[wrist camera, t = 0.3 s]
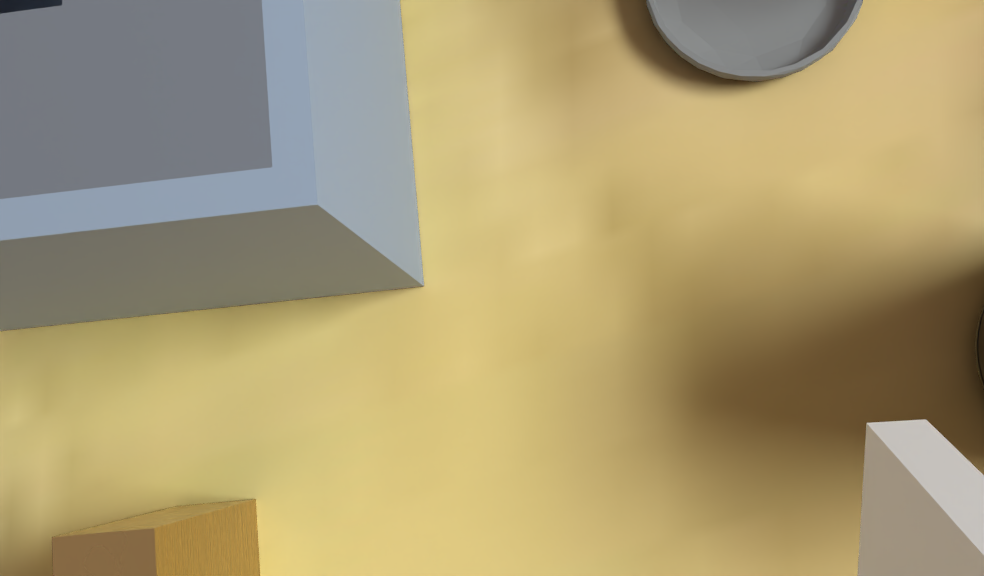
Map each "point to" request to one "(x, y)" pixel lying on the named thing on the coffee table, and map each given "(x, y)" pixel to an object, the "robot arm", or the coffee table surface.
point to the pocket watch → (753, 33)
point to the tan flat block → (166, 544)
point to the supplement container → (980, 347)
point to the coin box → (201, 156)
